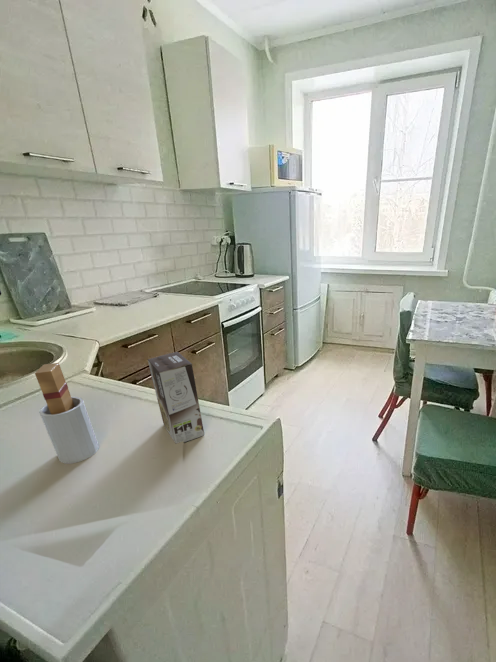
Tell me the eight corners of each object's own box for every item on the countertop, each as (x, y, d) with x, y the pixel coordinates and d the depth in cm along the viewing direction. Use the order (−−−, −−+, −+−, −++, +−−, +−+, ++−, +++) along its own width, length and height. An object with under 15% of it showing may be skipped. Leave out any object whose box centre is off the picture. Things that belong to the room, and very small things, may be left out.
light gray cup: (50, 463, 67) (29, 413, 62) (80, 441, 73) (62, 395, 68) (80, 468, 65) (60, 417, 61) (107, 446, 71) (91, 398, 67)
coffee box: (206, 435, 73) (193, 363, 66) (175, 446, 70) (158, 372, 63) (191, 416, 80) (178, 350, 73) (163, 426, 77) (146, 357, 70)
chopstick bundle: (68, 459, 67) (34, 373, 59) (75, 447, 71) (43, 364, 63) (83, 456, 68) (51, 371, 60) (89, 444, 71) (59, 362, 63)
